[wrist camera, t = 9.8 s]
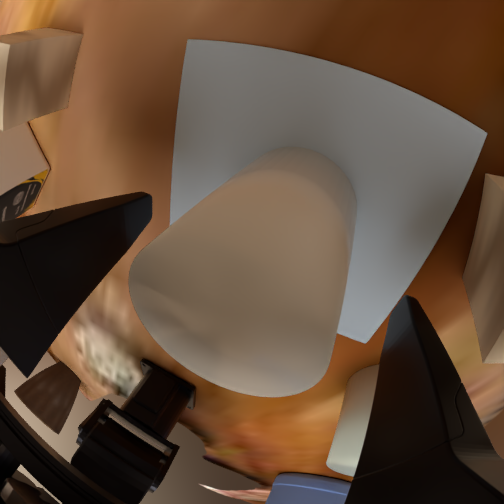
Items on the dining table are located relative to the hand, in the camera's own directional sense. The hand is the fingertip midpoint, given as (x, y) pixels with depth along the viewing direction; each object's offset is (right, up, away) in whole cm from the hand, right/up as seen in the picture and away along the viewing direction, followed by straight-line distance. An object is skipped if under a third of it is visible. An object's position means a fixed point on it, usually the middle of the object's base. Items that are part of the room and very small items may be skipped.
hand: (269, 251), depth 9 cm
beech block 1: (-13, +12, +3) cm, 18 cm away
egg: (+1, +2, +3) cm, 4 cm away
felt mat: (+1, +2, +3) cm, 4 cm away
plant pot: (-46, -30, +48) cm, 73 cm away
